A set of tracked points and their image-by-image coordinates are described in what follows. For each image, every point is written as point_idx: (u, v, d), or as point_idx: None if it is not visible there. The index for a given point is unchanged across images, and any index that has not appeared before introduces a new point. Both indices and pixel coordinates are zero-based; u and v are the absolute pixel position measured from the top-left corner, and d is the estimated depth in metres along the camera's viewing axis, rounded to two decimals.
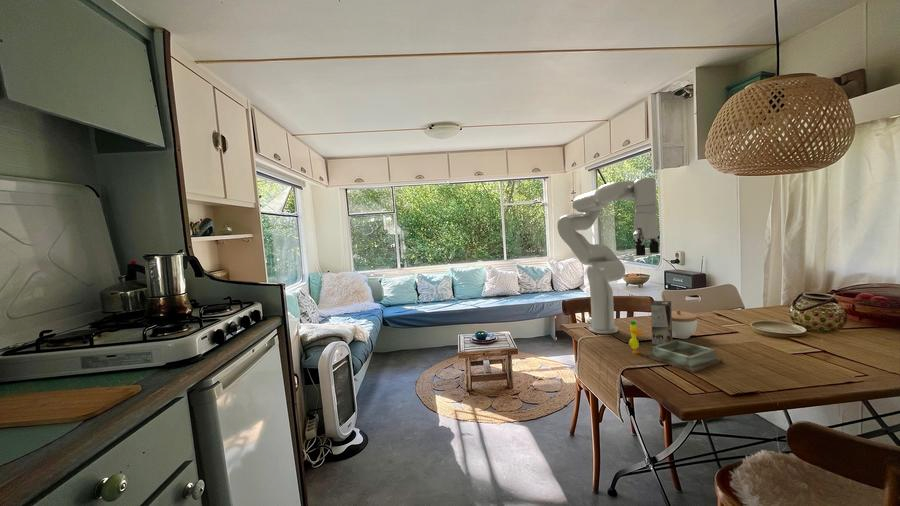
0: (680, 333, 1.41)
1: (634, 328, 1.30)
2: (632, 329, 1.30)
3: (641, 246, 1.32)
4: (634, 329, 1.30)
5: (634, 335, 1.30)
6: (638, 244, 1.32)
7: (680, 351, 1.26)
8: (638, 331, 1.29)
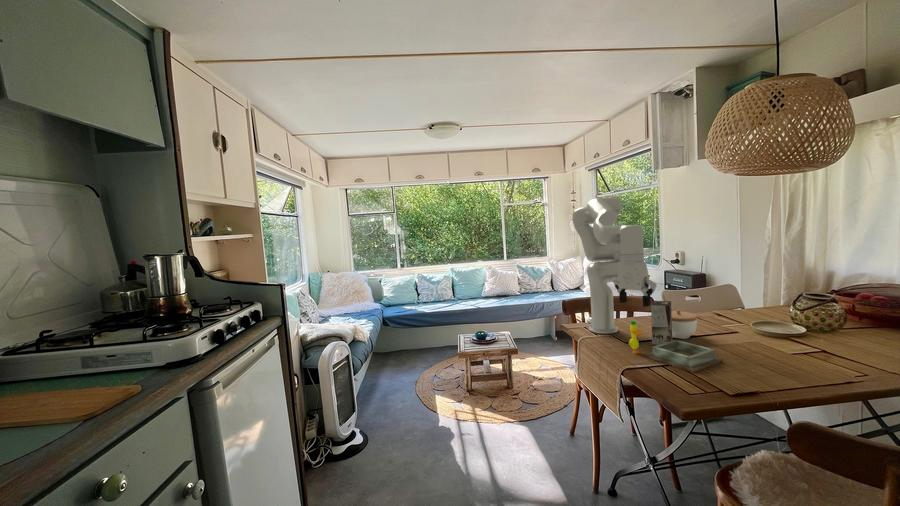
0: (680, 333, 1.41)
1: (634, 328, 1.30)
2: (632, 329, 1.30)
3: None
4: (634, 329, 1.30)
5: (634, 335, 1.30)
6: (649, 294, 1.23)
7: (680, 351, 1.26)
8: (638, 331, 1.29)
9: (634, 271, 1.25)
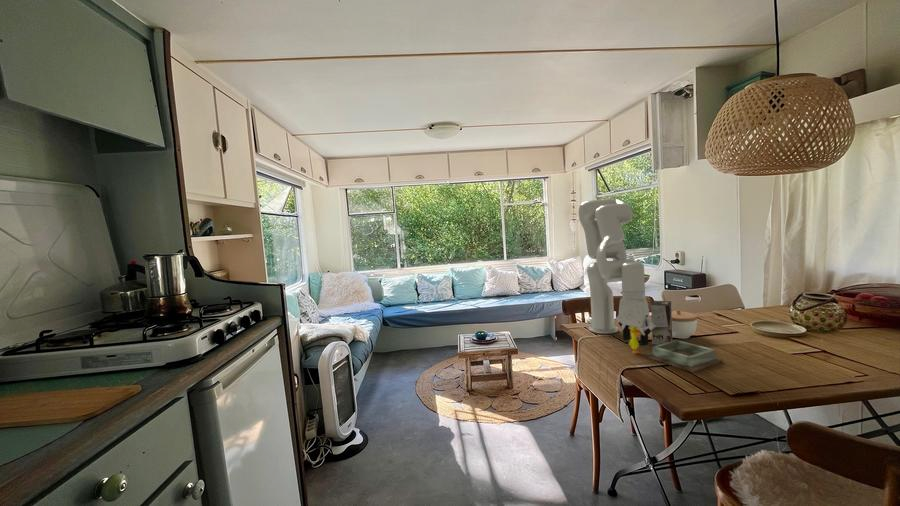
0: (680, 333, 1.41)
1: (634, 328, 1.30)
2: (632, 329, 1.30)
3: None
4: (634, 329, 1.30)
5: (634, 335, 1.30)
6: (647, 334, 1.26)
7: (680, 351, 1.26)
8: (638, 331, 1.29)
9: (635, 309, 1.26)
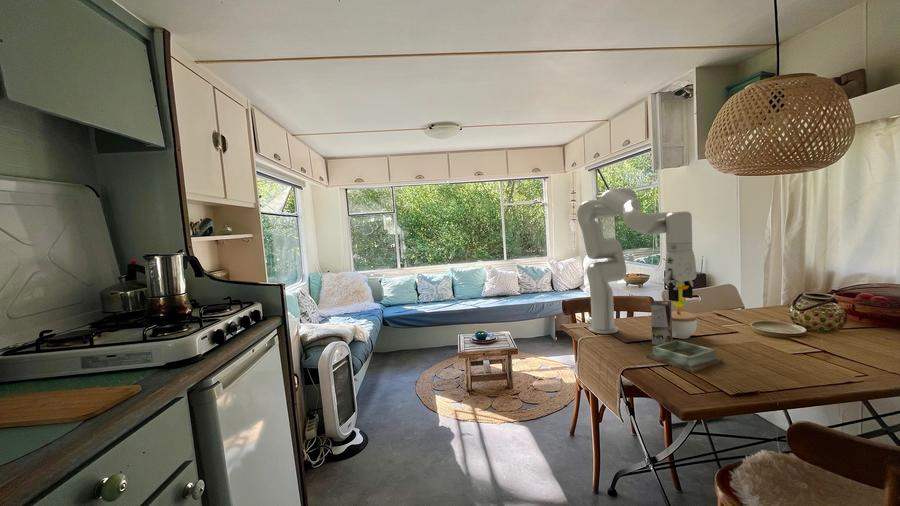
0: (680, 333, 1.41)
1: None
2: (681, 285, 1.19)
3: None
4: None
5: None
6: None
7: (680, 351, 1.26)
8: (683, 285, 1.21)
9: (692, 260, 1.18)
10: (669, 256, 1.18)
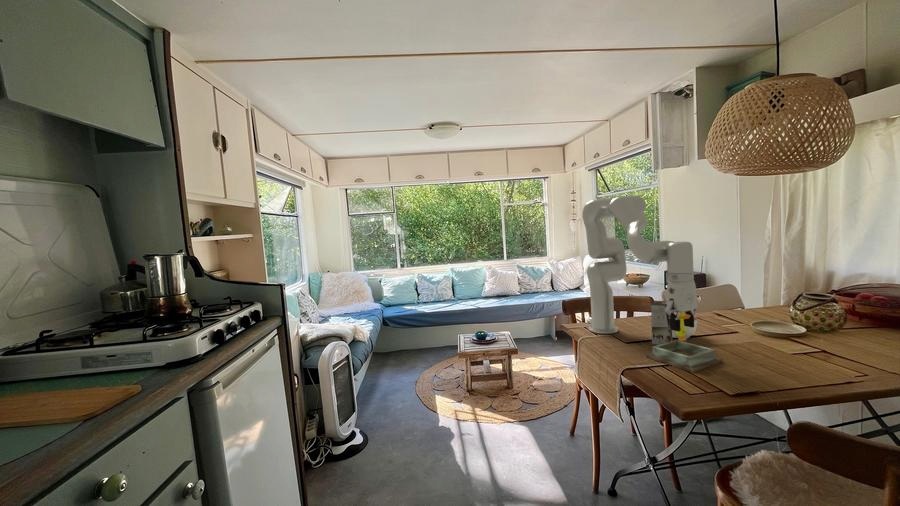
0: None
1: None
2: (683, 315, 1.20)
3: None
4: None
5: None
6: None
7: (680, 351, 1.26)
8: (685, 314, 1.21)
9: (694, 290, 1.19)
10: (670, 286, 1.18)
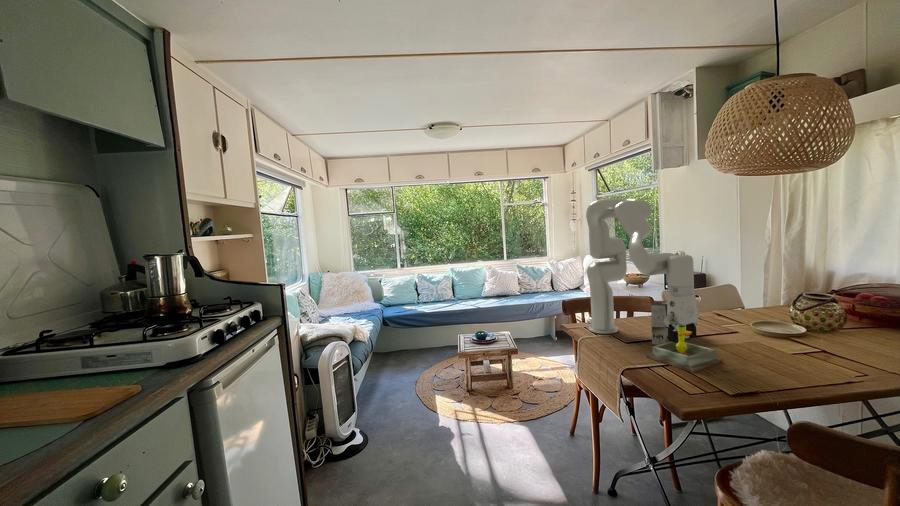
0: None
1: None
2: (684, 331, 1.20)
3: None
4: None
5: None
6: None
7: None
8: (686, 331, 1.22)
9: (694, 303, 1.19)
10: (671, 299, 1.19)
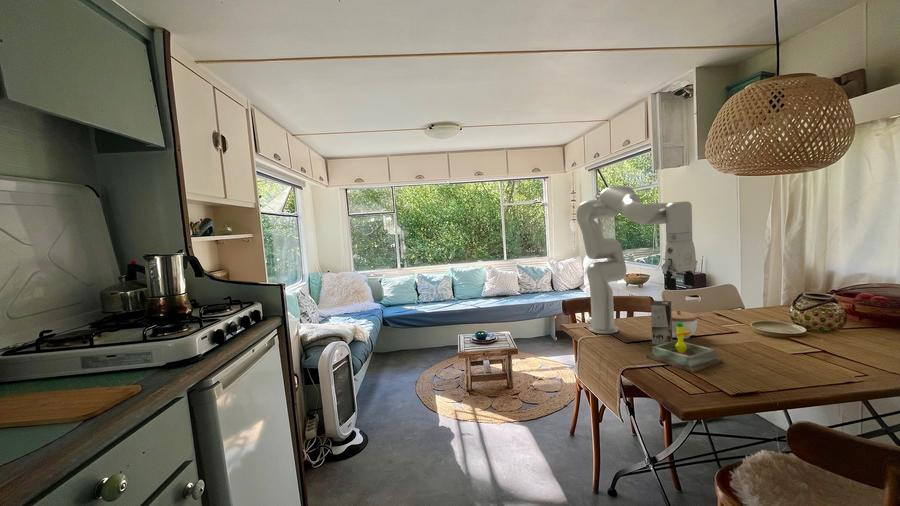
0: None
1: None
2: (683, 331, 1.21)
3: None
4: None
5: None
6: None
7: None
8: (685, 331, 1.22)
9: (692, 250, 1.18)
10: (669, 246, 1.18)
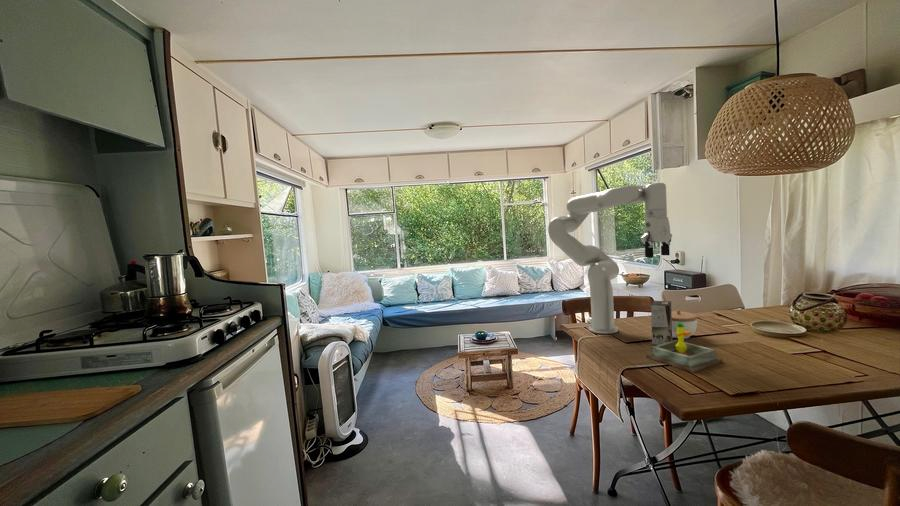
0: None
1: None
2: (684, 331, 1.20)
3: None
4: None
5: None
6: None
7: None
8: (686, 331, 1.22)
9: (667, 224, 1.39)
10: (647, 221, 1.39)
